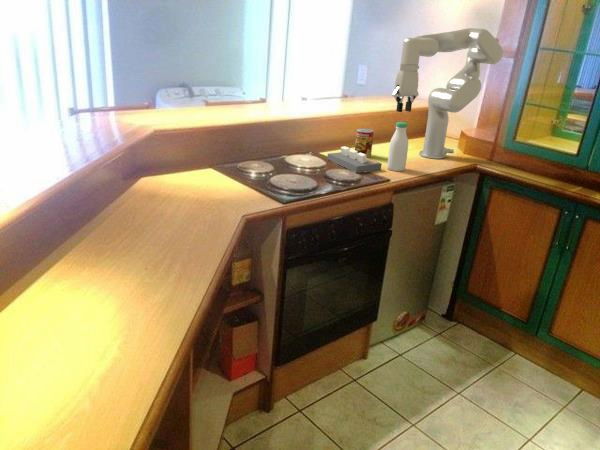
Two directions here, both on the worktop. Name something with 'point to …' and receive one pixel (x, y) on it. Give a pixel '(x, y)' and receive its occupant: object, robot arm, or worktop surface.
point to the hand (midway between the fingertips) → (403, 111)
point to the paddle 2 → (361, 157)
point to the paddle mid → (353, 154)
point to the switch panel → (355, 163)
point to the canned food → (364, 141)
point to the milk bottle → (398, 148)
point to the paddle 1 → (345, 150)
